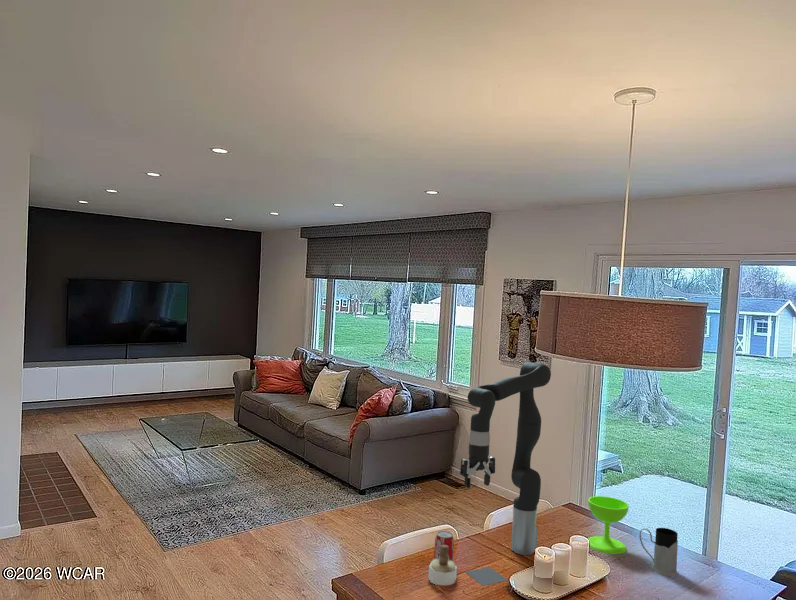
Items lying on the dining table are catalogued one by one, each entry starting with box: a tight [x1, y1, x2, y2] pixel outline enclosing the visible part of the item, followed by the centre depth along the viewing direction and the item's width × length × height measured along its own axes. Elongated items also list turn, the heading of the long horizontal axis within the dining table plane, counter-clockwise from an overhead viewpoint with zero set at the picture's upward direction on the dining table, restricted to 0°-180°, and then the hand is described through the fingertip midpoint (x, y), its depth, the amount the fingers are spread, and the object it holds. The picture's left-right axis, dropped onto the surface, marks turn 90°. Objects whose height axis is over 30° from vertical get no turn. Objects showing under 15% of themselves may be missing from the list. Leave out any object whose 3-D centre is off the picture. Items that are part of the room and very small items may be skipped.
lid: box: [430, 545, 456, 572], centre depth 199 cm, size 8×8×7 cm
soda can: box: [433, 530, 455, 562], centre depth 210 cm, size 7×7×12 cm
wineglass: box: [587, 495, 630, 555], centre depth 237 cm, size 16×16×18 cm
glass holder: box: [639, 527, 679, 578], centre depth 218 cm, size 9×14×15 cm, turn 47°
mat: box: [464, 566, 508, 587], centre depth 203 cm, size 11×11×1 cm
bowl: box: [427, 561, 458, 586], centre depth 199 cm, size 9×9×5 cm
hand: (477, 486), depth 210 cm, fingers open, 8 cm apart
